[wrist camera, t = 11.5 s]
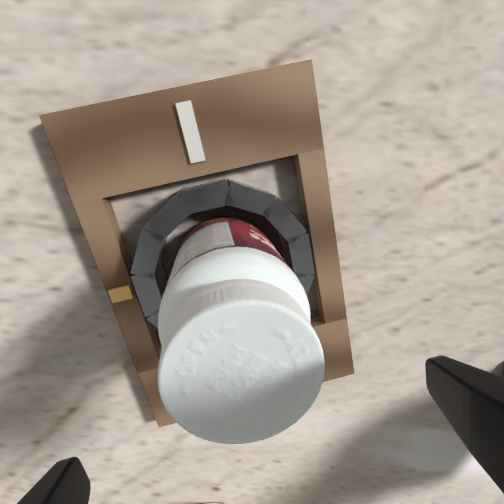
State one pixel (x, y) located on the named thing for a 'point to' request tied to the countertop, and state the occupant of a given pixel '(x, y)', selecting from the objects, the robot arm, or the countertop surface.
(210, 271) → the pill bottle
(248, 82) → the socket board
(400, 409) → the countertop surface
